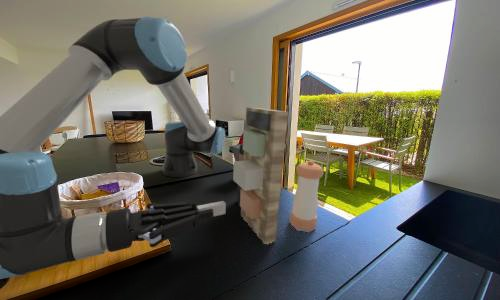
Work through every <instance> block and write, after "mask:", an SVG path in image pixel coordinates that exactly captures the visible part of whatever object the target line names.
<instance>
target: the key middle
mask: <svg viewBox="0 0 500 300" xmlns="http://www.w3.org/2000/svg"><path fill="white" fill-rule="evenodd" d="M232 170H233V177H232V181H233V180H234V181H235V182H236V183H235V182H234V181H233V182H234V183H235V184H237V186H238V185H239V186H240V187H241V188H242V189H243V190H244V191H247V190H253V189H259V188H262V185H263V172H264V167H262V166H260V165H259V164H257V163H255V162H254V161H252V160H245V161H235V160H234V161H233V169H232Z"/></svg>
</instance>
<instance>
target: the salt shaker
mask: <svg viewBox="0 0 500 300" xmlns="http://www.w3.org/2000/svg"><path fill="white" fill-rule="evenodd" d="M295 171H296V174H297V177H298V178H297V186H296V190H295V193H294V197H293V203H292V209H291V211H290V215H289V216H290V218H289V224H290V223H291V225H292V226H294V227H295V228H297V229H299V230H304V231H311V230H313V229H315V230H316V228H317V221H318V216H317V213H318V211H317V210H318V206H319V202H318V201H319V197H318V192H319V183H320V179H321V178H322V177H323V175H324V169H323V168H322V166H321V165H320V164H318V163H315V162H314V161H313V160H307V161H306V162H300V163H299V164H298V165H297V166H296V170H295ZM291 225H290V226H291ZM292 226H291V227H292ZM315 227H316V228H315Z"/></svg>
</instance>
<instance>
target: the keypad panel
mask: <svg viewBox="0 0 500 300" xmlns="http://www.w3.org/2000/svg"><path fill="white" fill-rule="evenodd" d="M288 118H289V111H285V110H278V109H268V108H263V107H262V108H259V107H245V124H244V125H245V126H244V128H245V129H244V130H256V131H259V132H262V133H265V134H266V145H265V156H260V157H255V156H253V155H252V154H250V153H248V152H246V151H244V161H245V160H252V161H254V162H255V163H257V164H259V165H260V166H262V167H264V172H263V185H262V188H259V189H253V190H252V191H253V192H254V193H255V194H257V195H258V196H259V197H260V198H261V211H260V217H259V218H255V219H251V218H250V217H249V216H248V215H247V213H246V212H245V211H244V210H243V209H242V208H241V207H240V217H241V218H242V217H243V218H242V219H243V220H244V221H245V222H247V223H248V224H247V225H248V226H249V227H250V228H252V229H251V230H252V231H253V232H254V233H256V234H257V235H256V234H255V235H256V236H257V238H259V239H261V240H262V241H263V242H262V241H261V240H260V241H261V242H262V244H263V245H264V244H267V245H270V244H273V243H275V242H276V238H277V227H278V219H279V218H278V216H279V207H280V200H281V199H280V198H281V187H282V179H283V177H282V176H283V169H284V168H283V167H284V157H285V147H286V139H287V128H288V127H287V126H288ZM274 241H275V242H274ZM272 242H273V243H272ZM269 243H270V244H269Z"/></svg>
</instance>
